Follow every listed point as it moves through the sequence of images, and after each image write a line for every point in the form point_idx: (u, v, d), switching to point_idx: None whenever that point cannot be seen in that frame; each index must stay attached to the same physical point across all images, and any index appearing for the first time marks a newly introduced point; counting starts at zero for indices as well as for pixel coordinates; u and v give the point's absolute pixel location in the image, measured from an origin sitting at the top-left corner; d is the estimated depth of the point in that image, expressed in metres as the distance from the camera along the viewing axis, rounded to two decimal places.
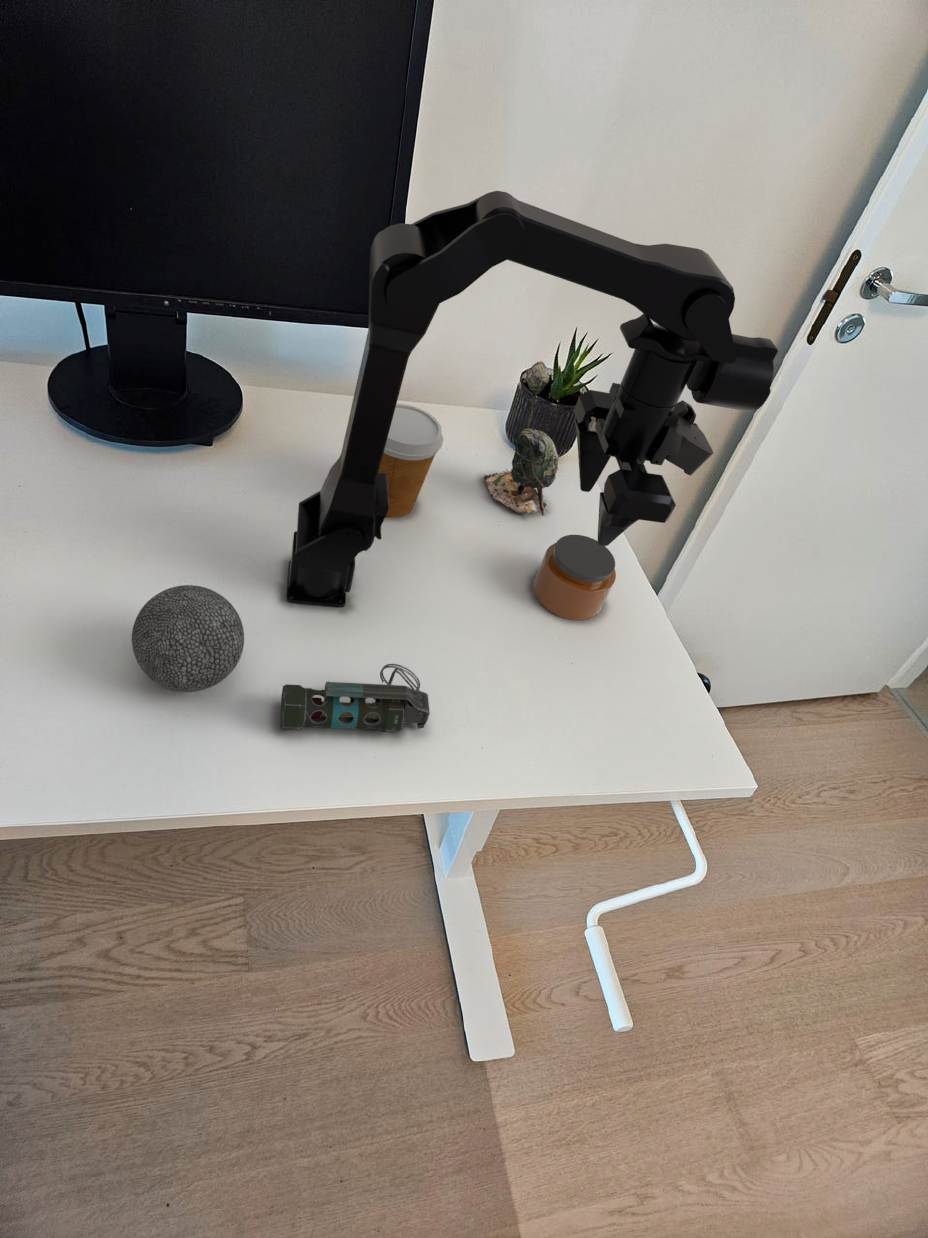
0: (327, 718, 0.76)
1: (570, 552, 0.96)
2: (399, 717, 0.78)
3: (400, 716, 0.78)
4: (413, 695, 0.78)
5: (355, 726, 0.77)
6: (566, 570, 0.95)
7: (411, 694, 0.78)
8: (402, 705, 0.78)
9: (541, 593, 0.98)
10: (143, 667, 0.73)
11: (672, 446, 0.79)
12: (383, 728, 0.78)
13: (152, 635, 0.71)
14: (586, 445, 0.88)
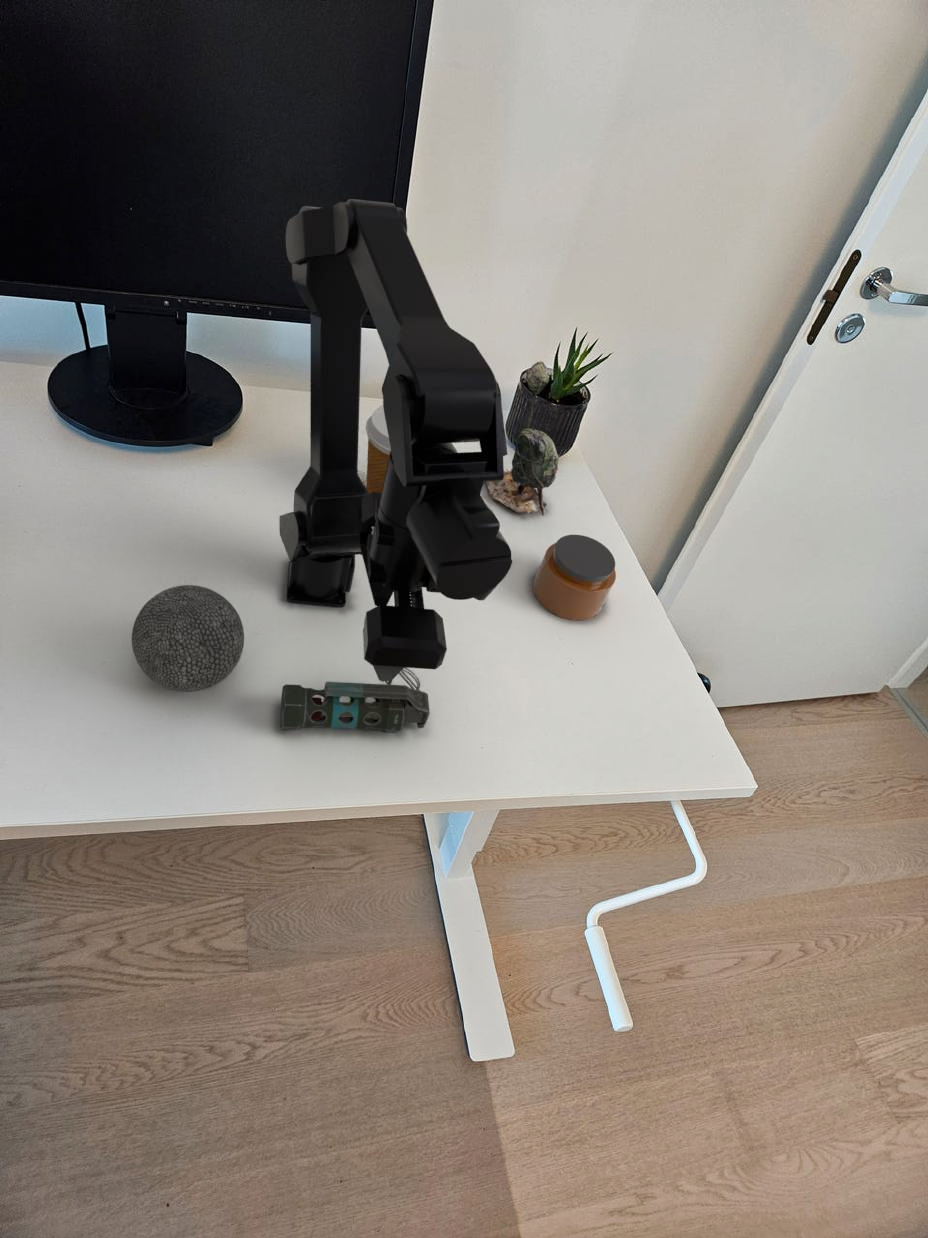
0: (327, 718, 0.76)
1: (570, 552, 0.96)
2: (399, 717, 0.78)
3: (400, 716, 0.78)
4: (413, 695, 0.78)
5: (355, 726, 0.77)
6: (566, 570, 0.95)
7: (411, 694, 0.78)
8: (402, 705, 0.78)
9: (541, 593, 0.98)
10: (143, 667, 0.73)
11: None
12: (383, 728, 0.78)
13: (152, 635, 0.71)
14: None
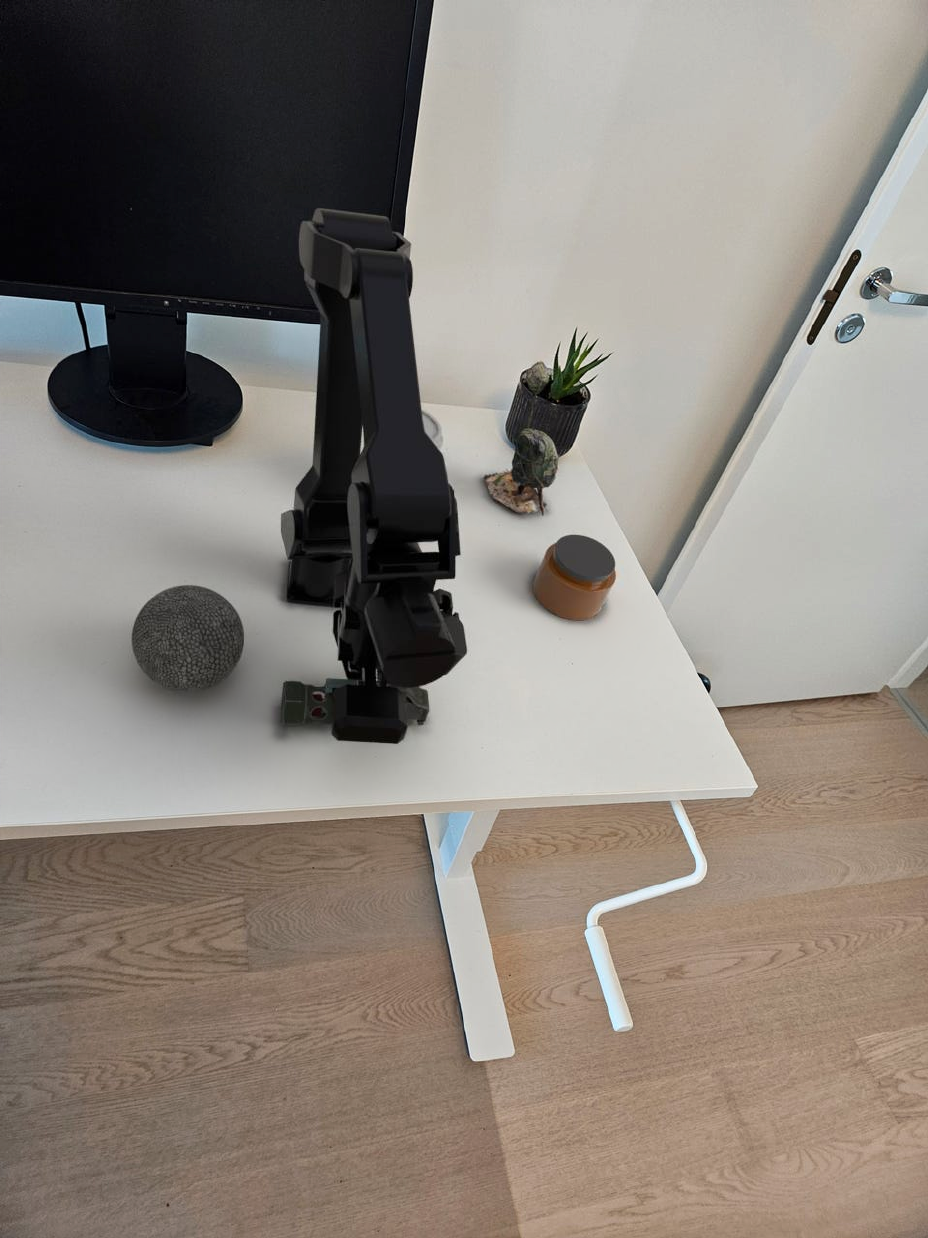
0: (327, 714, 0.76)
1: (570, 552, 0.96)
2: None
3: None
4: (413, 692, 0.78)
5: None
6: (566, 570, 0.95)
7: (411, 691, 0.78)
8: None
9: (541, 593, 0.98)
10: (143, 667, 0.73)
11: None
12: None
13: (152, 635, 0.71)
14: None
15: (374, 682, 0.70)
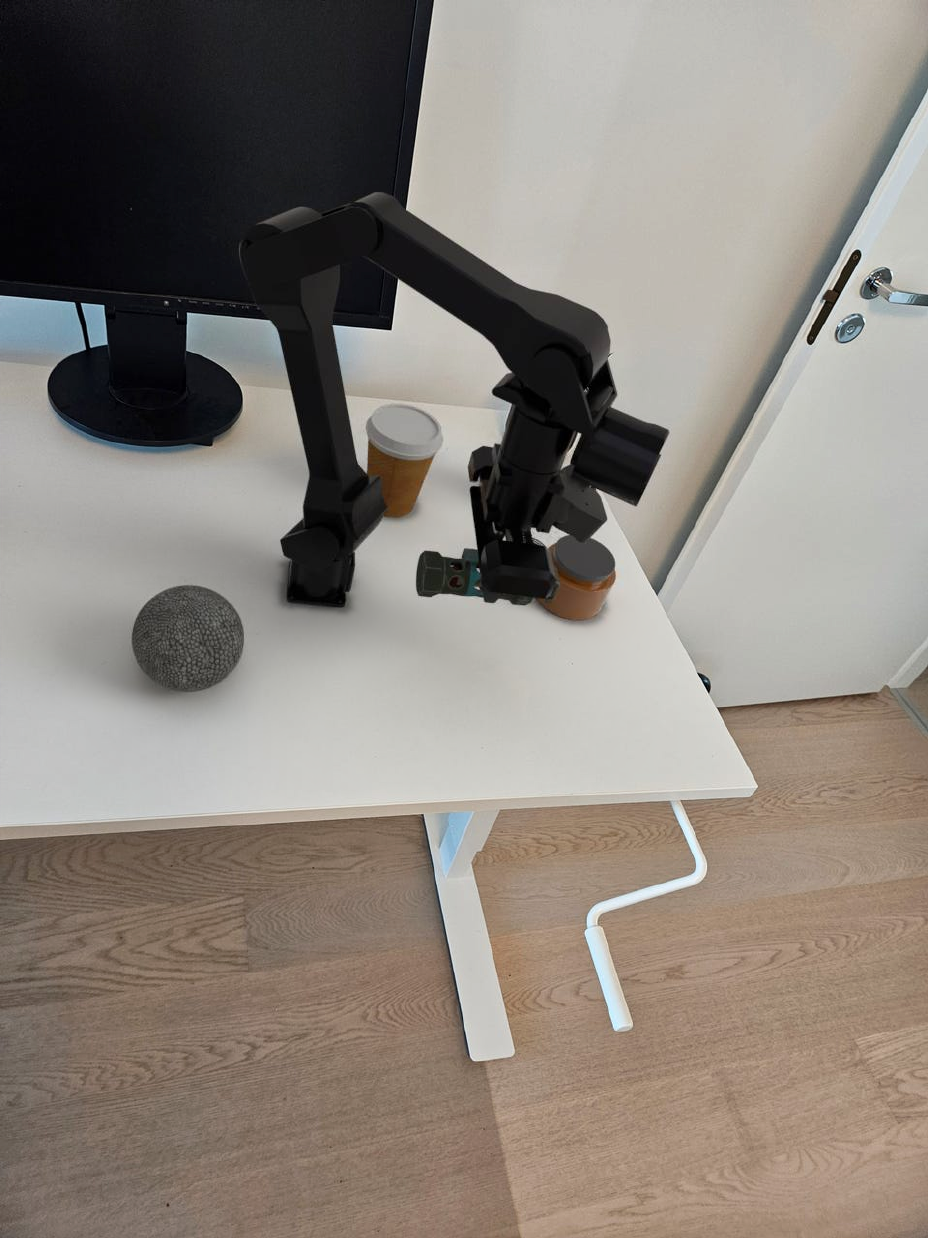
0: (464, 584, 0.79)
1: (570, 552, 0.96)
2: None
3: None
4: None
5: None
6: (566, 570, 0.95)
7: None
8: None
9: None
10: (143, 667, 0.73)
11: (559, 513, 0.73)
12: (515, 598, 0.81)
13: (152, 635, 0.71)
14: (479, 516, 0.80)
15: (521, 541, 0.72)
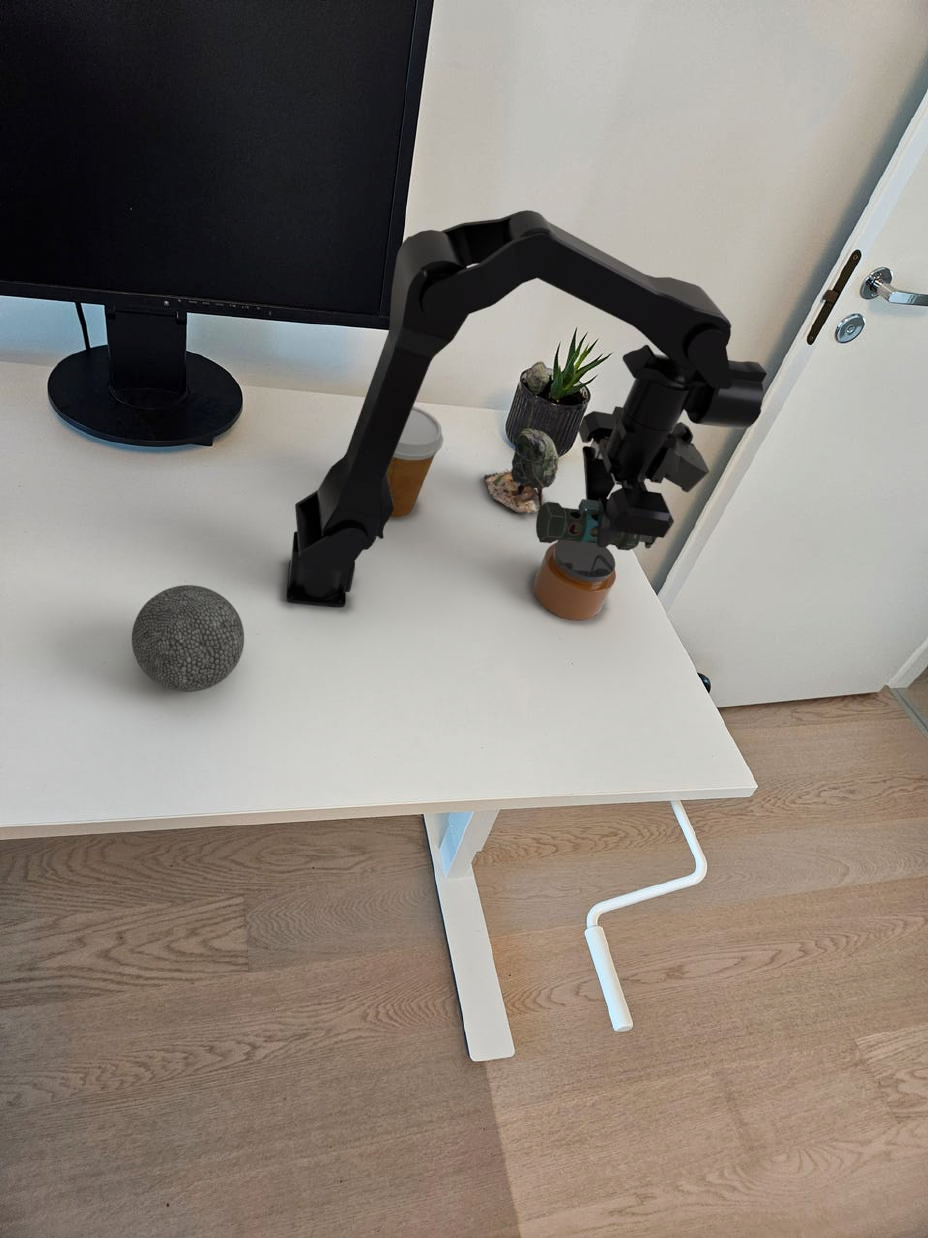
0: (581, 530, 0.91)
1: (570, 552, 0.96)
2: None
3: None
4: None
5: None
6: (566, 570, 0.95)
7: None
8: None
9: (541, 593, 0.98)
10: (143, 667, 0.73)
11: (671, 466, 0.85)
12: (623, 543, 0.93)
13: (152, 635, 0.71)
14: (592, 472, 0.92)
15: (640, 489, 0.84)
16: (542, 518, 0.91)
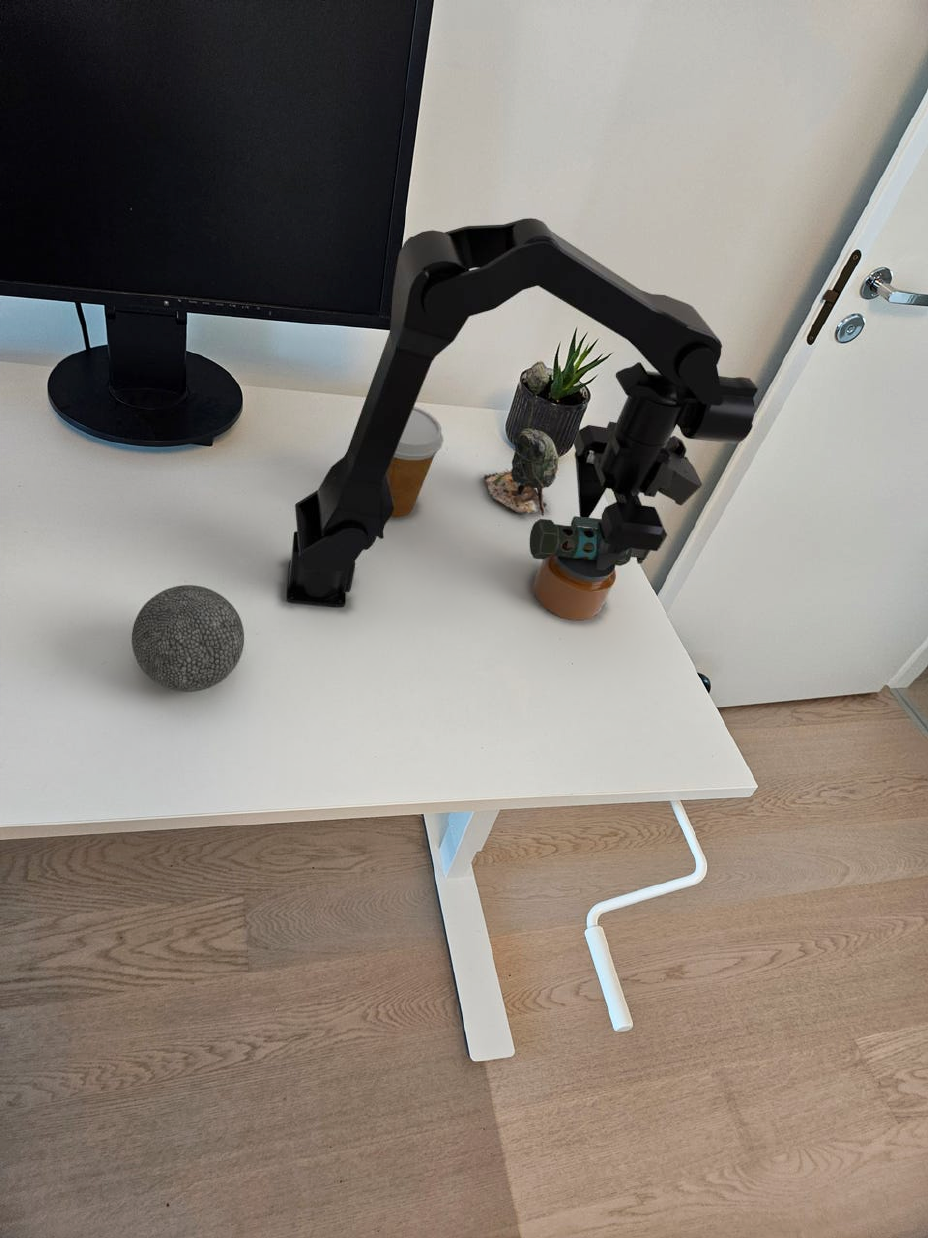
0: (574, 547, 0.93)
1: None
2: (630, 549, 0.94)
3: None
4: None
5: (593, 556, 0.94)
6: (566, 570, 0.95)
7: None
8: None
9: (541, 593, 0.98)
10: (143, 667, 0.73)
11: (664, 480, 0.86)
12: None
13: (152, 635, 0.71)
14: (584, 476, 0.94)
15: (634, 503, 0.86)
16: (535, 535, 0.93)
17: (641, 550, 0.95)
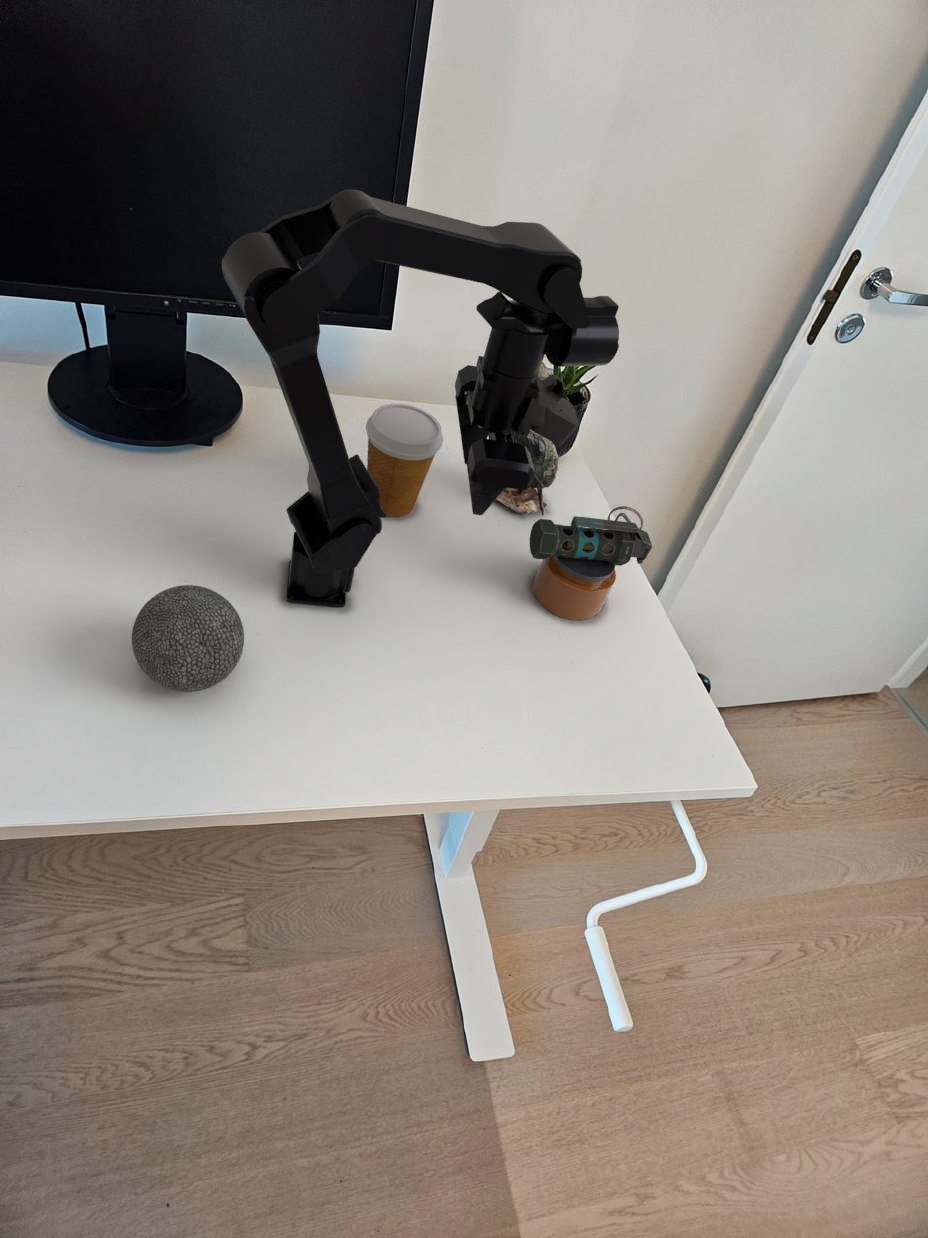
0: (574, 547, 0.93)
1: None
2: (630, 549, 0.94)
3: (630, 547, 0.94)
4: (639, 531, 0.95)
5: (593, 556, 0.94)
6: (566, 570, 0.95)
7: (639, 530, 0.94)
8: (632, 539, 0.94)
9: (541, 593, 0.98)
10: (143, 667, 0.73)
11: (536, 417, 0.82)
12: (615, 559, 0.95)
13: (152, 635, 0.71)
14: (465, 419, 0.91)
15: (503, 441, 0.82)
16: (535, 535, 0.93)
17: (641, 550, 0.95)
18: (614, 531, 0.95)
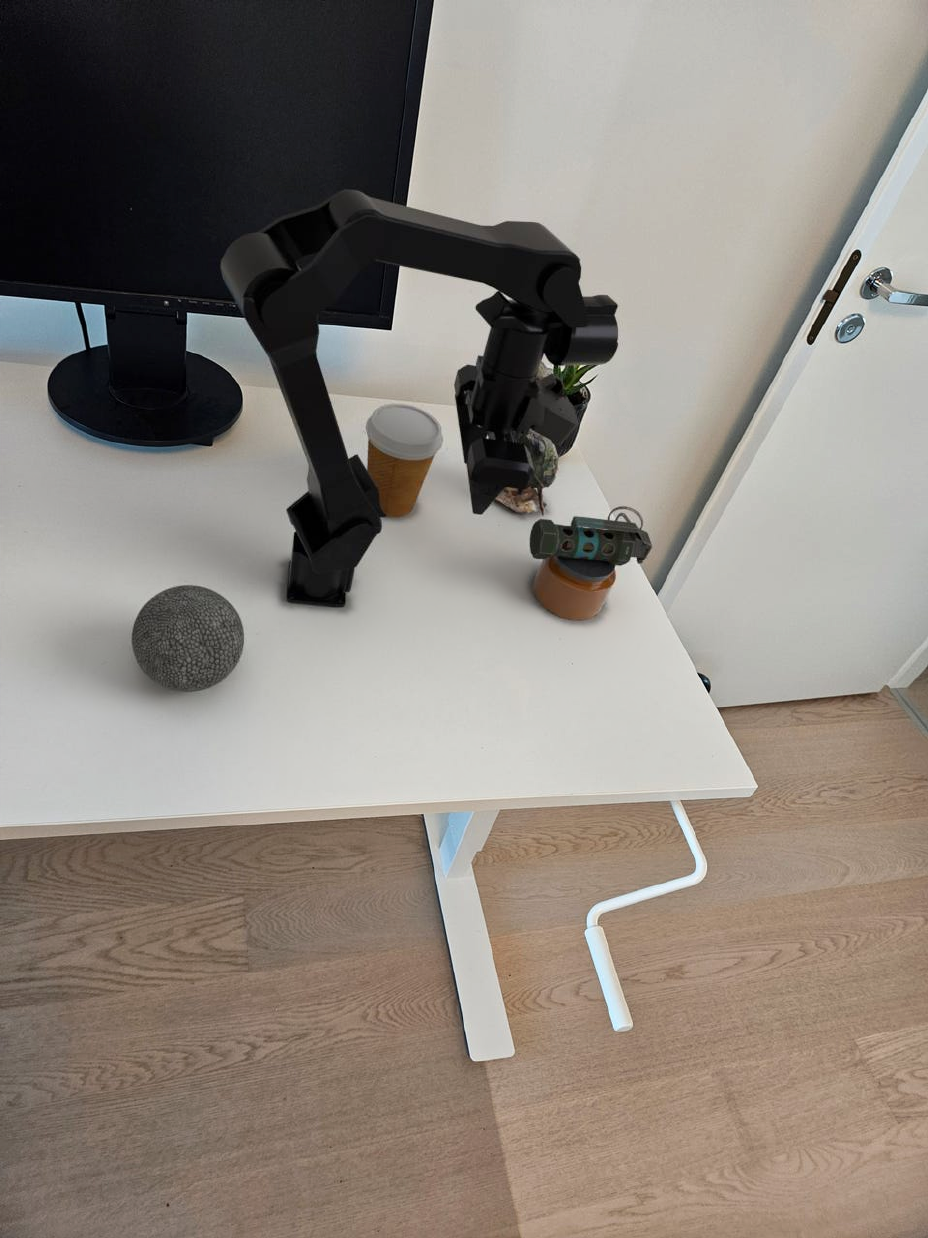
0: (574, 547, 0.93)
1: None
2: (630, 549, 0.94)
3: (630, 547, 0.94)
4: (639, 531, 0.95)
5: (593, 556, 0.94)
6: (566, 570, 0.95)
7: (639, 530, 0.94)
8: (632, 539, 0.94)
9: (541, 593, 0.98)
10: (143, 667, 0.73)
11: (535, 416, 0.82)
12: (615, 559, 0.95)
13: (152, 635, 0.71)
14: (464, 418, 0.91)
15: (503, 440, 0.82)
16: (535, 535, 0.93)
17: (641, 550, 0.95)
18: (614, 531, 0.95)
